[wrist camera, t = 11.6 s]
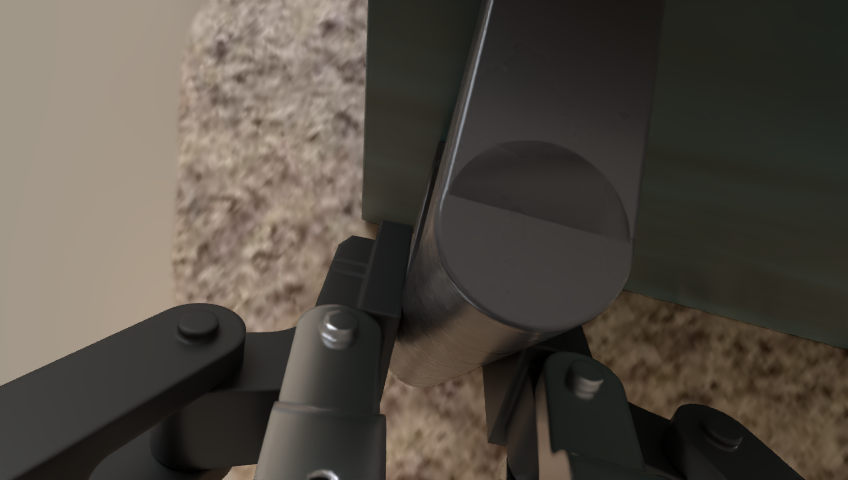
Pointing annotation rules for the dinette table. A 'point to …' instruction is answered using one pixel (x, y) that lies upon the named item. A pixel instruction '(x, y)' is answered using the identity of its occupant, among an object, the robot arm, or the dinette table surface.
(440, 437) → the dinette table surface
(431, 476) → the dinette table surface
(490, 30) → the door
